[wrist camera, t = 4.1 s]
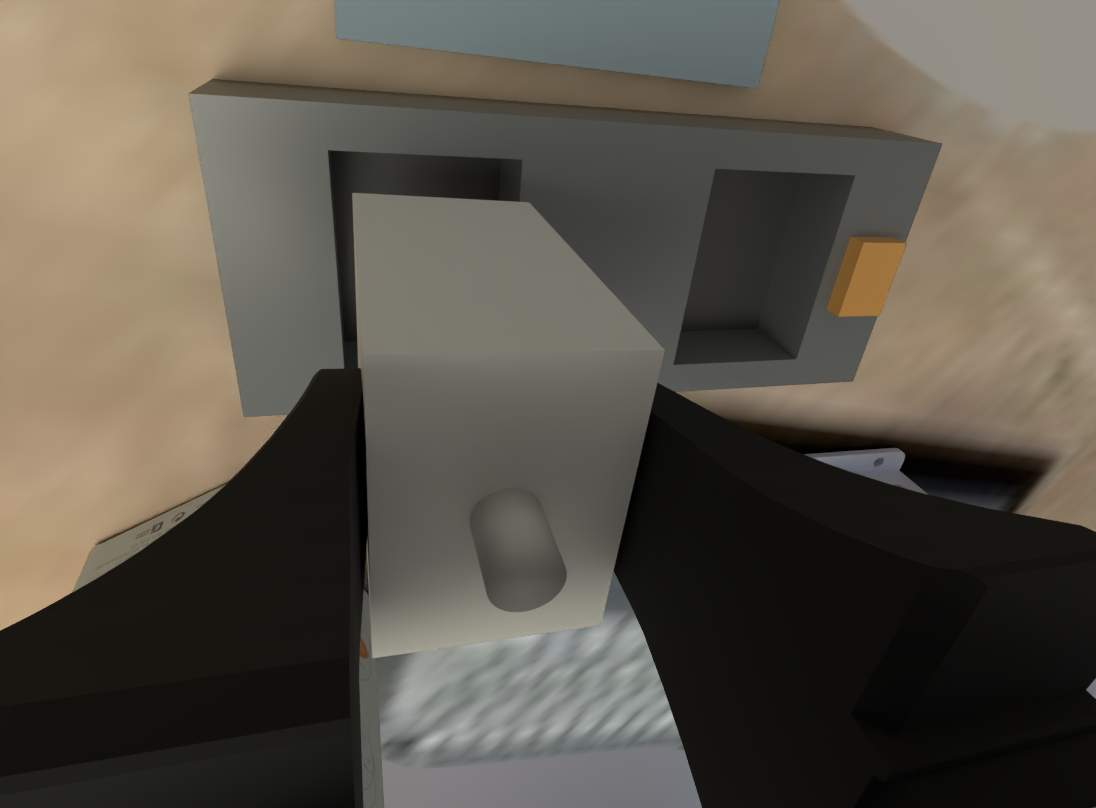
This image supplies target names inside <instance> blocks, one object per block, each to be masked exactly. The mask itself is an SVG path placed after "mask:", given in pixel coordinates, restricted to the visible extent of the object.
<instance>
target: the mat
mask: <svg viewBox="0 0 1096 808" xmlns="http://www.w3.org/2000/svg"><path fill="white" fill-rule="evenodd" d="M779 1H780V0H335V20H336V38H339V39H347V40H356V41H364V42H372V43H381V44H389V45H397V46H406V47H414V48H423V49H431V50H439V51H448V52H456V53H465V54H473V55H481V56H490V57H498V58H506V59H515V60H523V61H532V62H540V63H548V64H557V65H565V66H574V67H582V68H590V69H599V70H607V71H615V72H624V73H632V74H641V75H649V76H657V77H666V78H674V79H683V80H691V81H699V82H708V83H716V84H725V85H733V86H741V87H750V88H758V85H759V81H760V77H761V73H762V69H763V65H764V61H765V57H766V53H767V49H768V45H769V41H770V37H771V33H772V29H773V25H774V21H775V17H776V13H777V9H778V5H779Z"/></svg>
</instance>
